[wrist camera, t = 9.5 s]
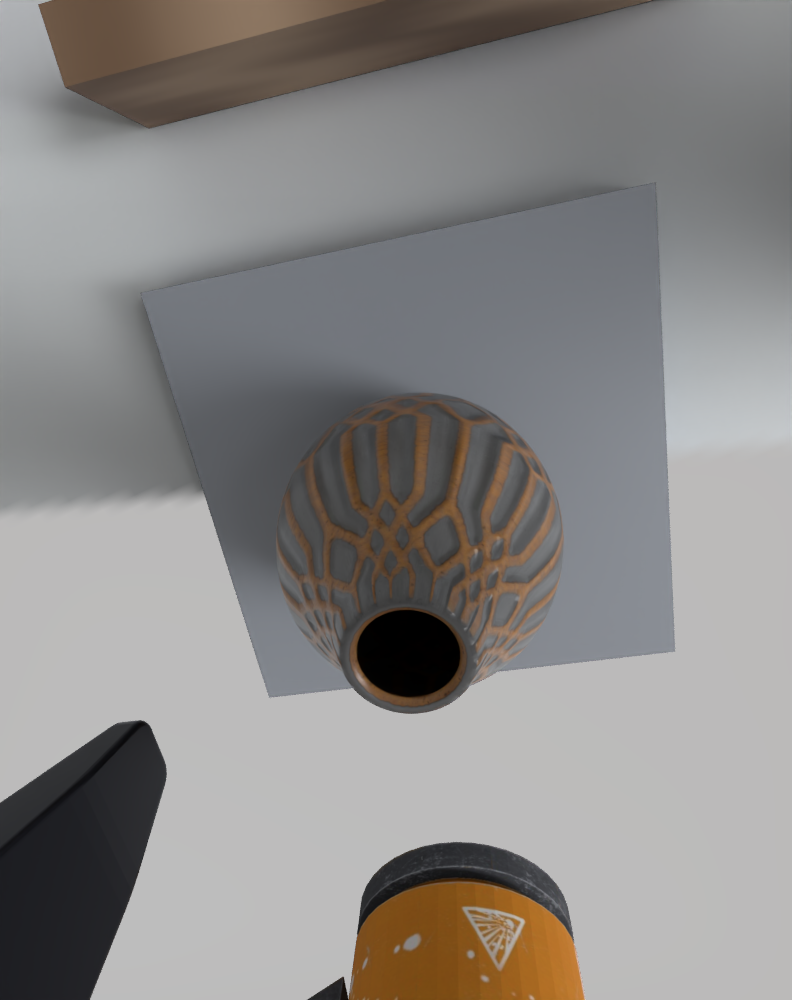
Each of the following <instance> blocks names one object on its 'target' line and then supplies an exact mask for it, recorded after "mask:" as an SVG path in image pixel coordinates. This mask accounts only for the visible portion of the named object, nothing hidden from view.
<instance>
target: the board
mask: <svg viewBox="0 0 792 1000" xmlns="http://www.w3.org/2000/svg"><path fill="white" fill-rule="evenodd" d="M141 296H142V300H143V303H144V306H145V309H146V312H147V315H148V318H149V322H150V325H151V328H152V331H153V334H154V337H155V340H156V344H157V347H158V350H159V353H160V356H161V359H162V362H163V365H164V369H165V372H166V375H167V378H168V381H169V384H170V387H171V391H172V394H173V397H174V400H175V403H176V406H177V409H178V413H179V416H180V419H181V422H182V425H183V428H184V431H185V435H186V438H187V441H188V444H189V447H190V450H191V453H192V457H193V460H194V463H195V466H196V469H197V472H198V475H199V479H200V482H201V485H202V488H203V491H204V494H205V497H206V501H207V504H208V507H209V510H210V513H211V516H212V519H213V522H214V526H215V529H216V532H217V535H218V538H219V541H220V544H221V547H222V551H223V554H224V557H225V560H226V563H227V566H228V570H229V572H230V576H231V579H232V582H233V585H234V588H235V591H236V595H237V598H238V601H239V604H240V607H241V610H242V614H243V617H244V619H245V623H246V626H247V629H248V632H249V636H250V639H251V642H252V645H253V648H254V651H255V654H256V657H257V661H258V663H259V667H260V670H261V673H262V676H263V679H264V683H265V686H266V689H267V692H268V695H269V697H278V696H287V695H296V694H305V693H314V692H323V691H331V690H340V689H348V688H353V687H352V686H351V685H350V684H349V682H348V681H347V679H346V678H345V676H344V674H343V672H341V671H340V670H338V669H337V668H336V667H334V666H333V665H332V664H330V663H329V662H328V661H327V660H326V659H324V658H323V657H322V656H321V655H320V654H319V653H318V652H317V651H316V650H315V649H314V648H313V646H312V645H311V644H310V643H309V641H308V640H307V639H306V638H305V636H304V635H303V634H302V632H301V631H300V629H299V628H298V626H297V624H296V623H295V621H294V619H293V617H292V615H291V613H290V610H289V608H288V606H287V603H286V601H285V598H284V595H283V592H282V589H281V585H280V580H279V574H278V569H277V559H276V533H277V522H278V516H279V511H280V507H281V503H282V500H283V496H284V493H285V490H286V487H287V485H288V483H289V480H290V478H291V476H292V474H293V473H294V471H295V469H296V467H297V466H298V464H299V462H300V461H301V459H302V458H303V456H304V455H305V453H306V452H307V451H308V449H309V448H310V447H311V446H312V444H313V443H314V442H315V441H316V440H317V439H318V438H319V437H320V436H321V435H322V434H323V433H324V432H325V431H326V430H327V429H328V428H329V427H330V426H332V425H333V424H334V423H335V422H337V421H338V420H339V419H341V418H342V417H344V416H345V415H347V414H348V413H350V412H351V411H353V410H355V409H357V408H359V407H360V406H362V405H365V404H367V403H369V402H372V401H375V400H378V399H381V398H384V397H388V396H392V395H398V394H404V393H437V394H443V395H449V396H453V397H457V398H461V399H464V400H467V401H470V402H472V403H474V404H477V405H479V406H481V407H483V408H485V409H487V410H489V411H490V412H492V413H494V414H495V415H497V416H498V417H500V418H501V419H502V420H504V421H505V422H506V423H507V424H509V425H510V426H511V427H512V428H513V429H514V430H515V431H516V432H517V433H518V434H519V435H520V436H521V437H522V438H523V439H524V440H525V441H526V442H527V444H528V445H529V446H530V447H531V448H532V450H533V451H534V453H535V454H536V456H537V457H538V459H539V460H540V462H541V463H542V465H543V467H544V469H545V470H546V472H547V474H548V476H549V478H550V481H551V483H552V485H553V488H554V491H555V493H556V496H557V499H558V503H559V506H560V510H561V516H562V523H563V535H564V551H563V561H562V569H561V574H560V579H559V583H558V587H557V590H556V594H555V597H554V599H553V602H552V605H551V607H550V610H549V612H548V614H547V616H546V618H545V620H544V622H543V623H542V625H541V627H540V628H539V630H538V631H537V633H536V634H535V636H534V637H533V639H532V640H531V641H530V642H529V644H528V645H527V646H526V647H525V648H524V649H523V650H522V651H521V652H520V654H519V655H517V656H516V657H515V658H514V659H513V660H512V661H511V662H509V663H508V664H507V665H506V666H504V667H503V668H502V669H500V670H499V671H508V670H516V669H524V668H534V667H543V666H551V665H560V664H569V663H577V662H587V661H596V660H604V659H613V658H622V657H630V656H640V655H648V654H656V653H666V652H674V651H675V641H674V616H673V592H672V568H671V567H672V566H671V543H670V519H669V493H668V469H667V444H666V420H665V396H664V371H663V347H662V322H661V298H660V274H659V249H658V225H657V201H656V182H655V183H651V184H646V185H641V186H637V187H632V188H627V189H623V190H618V191H613V192H609V193H604V194H599V195H595V196H590V197H585V198H581V199H576V200H571V201H567V202H562V203H557V204H553V205H548V206H543V207H539V208H534V209H529V210H525V211H520V212H516V213H511V214H506V215H502V216H497V217H492V218H488V219H483V220H478V221H474V222H469V223H464V224H460V225H455V226H450V227H446V228H441V229H436V230H432V231H427V232H422V233H418V234H413V235H408V236H404V237H399V238H394V239H390V240H385V241H380V242H376V243H371V244H367V245H362V246H357V247H353V248H348V249H343V250H339V251H334V252H329V253H325V254H320V255H315V256H311V257H306V258H301V259H297V260H292V261H287V262H283V263H278V264H273V265H269V266H264V267H259V268H255V269H250V270H245V271H241V272H236V273H231V274H227V275H222V276H217V277H213V278H208V279H204V280H199V281H194V282H190V283H185V284H180V285H176V286H171V287H166V288H162V289H157V290H152V291H148V292H143V293H141ZM499 671H497V672H499Z"/></svg>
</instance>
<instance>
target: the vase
mask: <svg viewBox="0 0 792 1000" xmlns="http://www.w3.org/2000/svg"><path fill="white" fill-rule="evenodd" d="M563 551H564V535H563V523H562V516H561V510H560V506H559V503H558V499H557V496H556V493H555V491H554V488H553V485H552V483H551V481H550V478H549V476H548V474H547V472H546V470H545V469H544V467H543V465H542V463H541V462H540V460H539V459H538V457H537V456H536V454H535V453H534V451H533V450H532V448H531V447H530V446H529V445H528V444H527V442H526V441H525V440H524V439H523V438H522V437H521V436H520V435H519V434H518V433H517V432H516V431H515V430H514V429H513V428H512V427H511V426H510V425H509V424H507V423H506V422H505V421H504V420H502V419H501V418H500V417H498V416H497V415H495V414H494V413H492V412H490V411H489V410H487V409H485V408H483V407H481V406H479V405H477V404H474V403H472V402H470V401H467V400H464V399H461V398H457V397H453V396H449V395H443V394H437V393H404V394H398V395H392V396H388V397H384V398H381V399H378V400H375V401H372V402H369V403H367V404H365V405H362V406H360V407H359V408H357V409H355V410H353V411H351V412H350V413H348V414H347V415H345V416H344V417H342V418H341V419H339V420H338V421H337V422H335V423H334V424H333V425H332V426H330V427H329V428H328V429H327V430H326V431H325V432H324V433H323V434H322V435H321V436H320V437H319V438H318V439H317V440H316V441H315V442H314V443H313V444H312V446H311V447H310V448H309V449H308V451H307V452H306V453H305V455H304V456H303V458H302V459H301V461H300V462H299V464H298V466H297V467H296V469H295V471H294V473H293V474H292V476H291V478H290V480H289V483H288V485H287V487H286V490H285V493H284V496H283V500H282V503H281V507H280V511H279V516H278V522H277V533H276V559H277V569H278V574H279V580H280V585H281V589H282V592H283V595H284V598H285V601H286V603H287V606H288V608H289V610H290V613H291V615H292V617H293V619H294V621H295V623H296V624H297V626H298V628H299V629H300V631H301V632H302V634H303V635H304V636H305V638H306V639H307V640H308V641H309V643H310V644H311V645H312V646H313V648H314V649H315V650H316V651H317V652H318V653H319V654H320V655H321V656H322V657H323V658H324V659H326V660H327V661H328V662H329V663H330V664H332V665H333V666H334V667H336V668H337V669H338V670H340V671H341V672H343V674H344V676H345V678H346V679H347V681H348V682H349V684H350V685H351V686H352V687H353V688H354V690H355V691H356V692H357V693H358V694H359V695H361V696H362V697H363V698H364V699H366V700H367V701H369V702H371V703H372V704H374V705H376V706H379V707H381V708H383V709H386V710H389V711H393V712H398V713H408V714H414V713H424V712H429V711H433V710H437V709H439V708H442V707H444V706H446V705H448V704H450V703H451V702H453V701H455V700H456V699H457V698H458V697H460V696H461V695H462V694H463V693H464V692H465V691H466V690H467V688H468V687H469V686H470V685H473V684H475V683H477V682H479V681H482V680H484V679H485V678H487V677H489V676H491V675H493V674H494V673H496V672H497V671H499V670H500V669H502V668H503V667H504V666H506V665H507V664H508V663H509V662H511V661H512V660H513V659H514V658H515V657H516V656H517V655H519V654H520V652H521V651H522V650H523V649H524V648H525V647H526V646H527V645H528V644H529V642H530V641H531V640H532V639H533V637H534V636H535V634H536V633H537V631H538V630H539V628H540V627H541V625H542V623H543V622H544V620H545V618H546V616H547V614H548V612H549V610H550V607H551V605H552V602H553V599H554V597H555V594H556V590H557V587H558V583H559V579H560V574H561V569H562V561H563Z"/></svg>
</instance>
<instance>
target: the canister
mask: <svg viewBox="0 0 792 1000" xmlns="http://www.w3.org/2000/svg"><path fill="white" fill-rule="evenodd" d="M357 935H358V936H357V941H356V948H355V955H354V962H353V970H352V978H351V985H350V993H349V1000H586V998H585V993H584V988H583V983H582V978H581V972H580V967H579V962H578V958H577V952H576V948H575V945H574V939H573V932H572V927H571V922H570V917H569V911H568V907H567V904H566V901H565V898H564V896H563V894H562V892H561V891H560V889H559V887H558V886H557V884H556V883H555V882H554V881H553V880H552V879H551V878H550V876H549V875H548V874H547V873H545V872H544V871H543V870H542V869H540V868H539V867H538V866H536V865H535V864H534V863H532V862H530V861H528V860H527V859H525V858H523V857H521V856H519V855H517V854H514V853H512V852H509V851H507V850H503V849H500V848H497V847H493V846H489V845H482V844H476V843H462V842H453V843H439V844H433V845H429V846H424V847H420V848H417V849H414V850H411V851H408V852H406V853H404V854H402V855H400V856H398V857H396V858H394V859H393V860H391V861H390V862H388V863H387V864H385V865H384V866H382V867H381V868H380V869H379V871H377V873H375V874H374V876H373V877H372V878H371V880H370V881H369V883H368V884H367V886H366V888H365V891H364V893H363V896H362V902H361V908H360V916H359V924H358V931H357ZM308 1000H348V995H347V991H346V987H345V981H344V977H342V978H340V979H339V980H337V981H335V982H334V983H333V984H331V985H329V986H328V987H326V988H325V989H323V990H322V991H320V992H319V993H317V994H316V995H314V996H313V997H311V998H309V999H308Z"/></svg>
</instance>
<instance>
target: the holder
mask: <svg viewBox="0 0 792 1000" xmlns="http://www.w3.org/2000/svg"><path fill="white" fill-rule="evenodd" d="M648 1H652V0H52V1H48V2H45V3H42V4H38V5H39V8H40V11H41V14H42V17H43V20H44V23H45V27H46V30H47V33H48V36H49V39H50V42H51V45H52V48H53V51H54V54H55V58H56V61H57V64H58V67H59V70H60V73H61V76H62V79H63V82H64V85H65V87H66V88H68V89H70V90H72V91H74V92H76V93H78V94H80V95H82V96H84V97H86V98H88V99H90V100H92V101H94V102H96V103H98V104H101V105H103V106H105V107H107V108H109V109H111V110H113V111H115V112H117V113H119V114H121V115H123V116H125V117H127V118H129V119H131V120H133V121H135V122H137V123H139V124H141V125H143V126H145V127H147V128H152V127H156V126H160V125H164V124H168V123H172V122H176V121H179V120H183V119H187V118H191V117H195V116H199V115H203V114H207V113H211V112H215V111H219V110H223V109H227V108H231V107H235V106H239V105H242V104H246V103H250V102H254V101H258V100H262V99H266V98H270V97H274V96H278V95H282V94H286V93H290V92H294V91H298V90H301V89H305V88H309V87H313V86H317V85H321V84H325V83H329V82H333V81H337V80H341V79H345V78H349V77H353V76H357V75H361V74H364V73H368V72H372V71H376V70H380V69H384V68H388V67H392V66H396V65H400V64H404V63H408V62H412V61H416V60H420V59H424V58H427V57H431V56H435V55H439V54H443V53H447V52H451V51H455V50H459V49H463V48H467V47H471V46H475V45H479V44H483V43H487V42H490V41H494V40H498V39H502V38H506V37H510V36H514V35H518V34H522V33H526V32H530V31H534V30H538V29H542V28H546V27H549V26H553V25H557V24H561V23H565V22H569V21H573V20H577V19H581V18H585V17H589V16H593V15H597V14H601V13H605V12H609V11H612V10H616V9H620V8H624V7H628V6H632V5H636V4H640V3H644V2H648Z"/></svg>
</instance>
